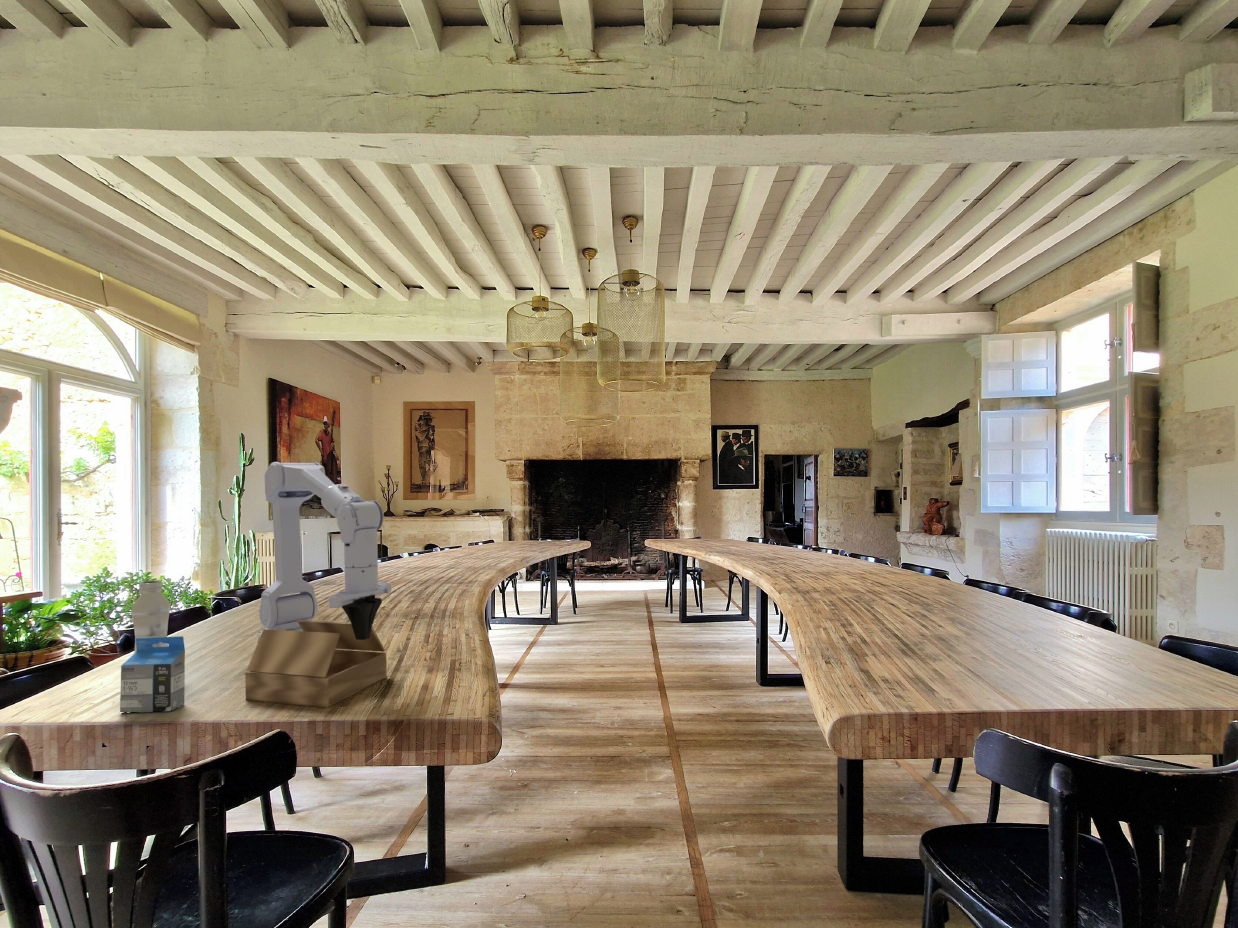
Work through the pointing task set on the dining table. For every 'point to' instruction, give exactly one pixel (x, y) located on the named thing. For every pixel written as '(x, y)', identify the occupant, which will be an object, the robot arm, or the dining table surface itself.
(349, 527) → the robot arm
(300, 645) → the flap near
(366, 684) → the carton
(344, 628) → the flap far
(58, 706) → the dining table surface
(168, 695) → the label tape box
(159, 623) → the plastic bottle
